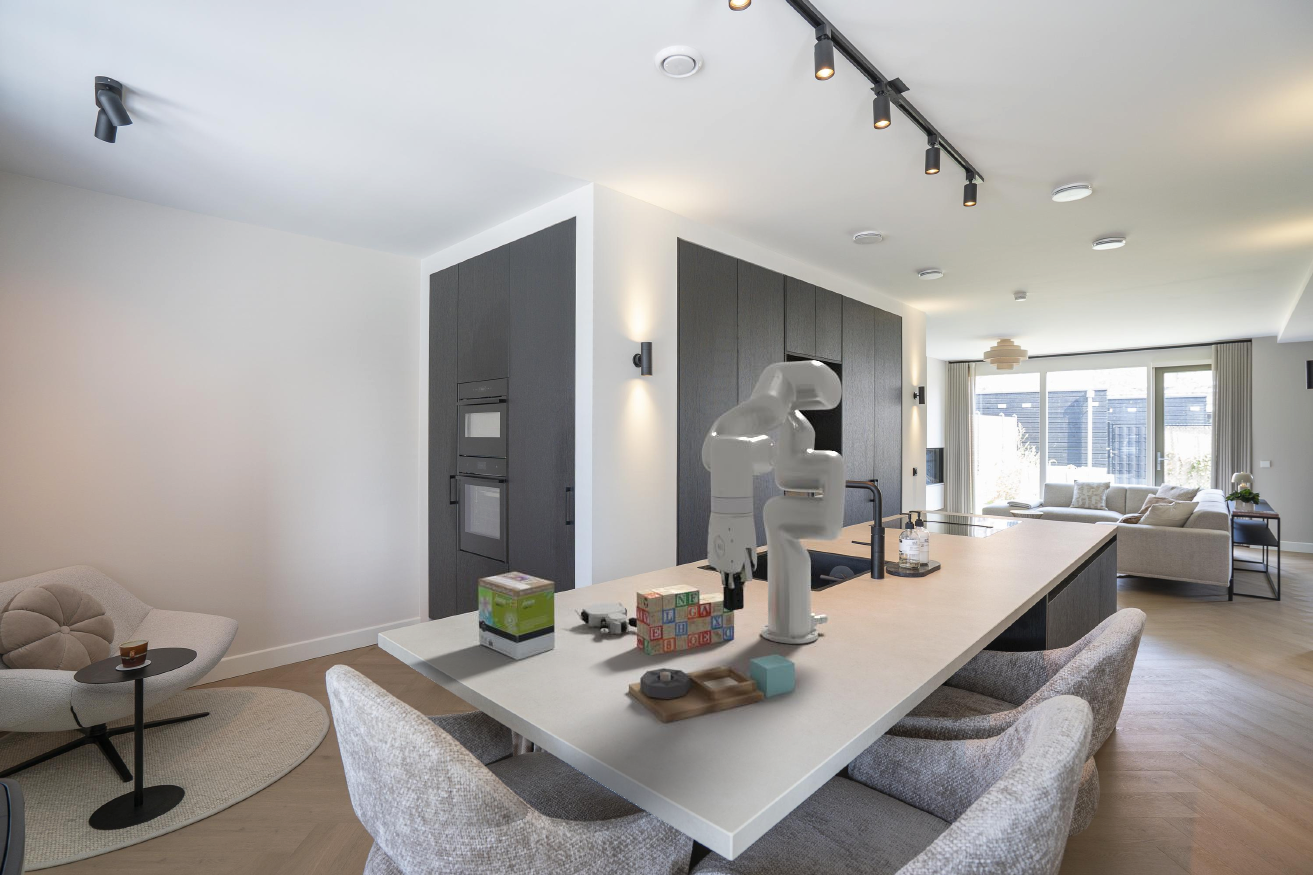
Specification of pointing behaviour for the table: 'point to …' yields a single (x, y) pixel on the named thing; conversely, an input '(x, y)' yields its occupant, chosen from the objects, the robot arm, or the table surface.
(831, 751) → the table surface
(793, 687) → the teal nearly cubic block
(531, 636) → the tea box
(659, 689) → the wheel
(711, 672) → the chassis
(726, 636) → the stack of blocks
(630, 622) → the robot toy
